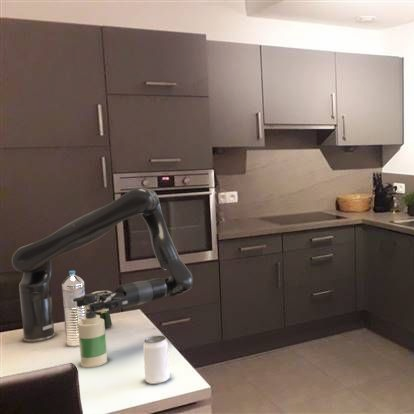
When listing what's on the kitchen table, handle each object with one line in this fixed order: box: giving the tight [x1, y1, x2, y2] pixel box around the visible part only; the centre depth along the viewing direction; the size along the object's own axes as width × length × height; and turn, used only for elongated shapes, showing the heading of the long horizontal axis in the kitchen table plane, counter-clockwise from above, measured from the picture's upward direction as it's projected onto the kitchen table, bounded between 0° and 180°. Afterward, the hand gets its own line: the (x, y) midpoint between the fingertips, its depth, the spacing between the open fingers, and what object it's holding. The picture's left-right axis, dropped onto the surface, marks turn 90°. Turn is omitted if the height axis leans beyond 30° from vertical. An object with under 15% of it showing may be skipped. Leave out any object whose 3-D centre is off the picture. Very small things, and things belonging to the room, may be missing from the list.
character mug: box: [86, 290, 113, 328], centre depth 200 cm, size 11×7×13 cm, turn 134°
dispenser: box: [78, 310, 108, 368], centre depth 167 cm, size 7×7×16 cm
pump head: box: [73, 292, 95, 308], centre depth 165 cm, size 6×3×4 cm, turn 142°
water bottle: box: [61, 270, 88, 347], centre depth 184 cm, size 7×7×25 cm
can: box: [142, 335, 171, 385], centre depth 155 cm, size 6×6×12 cm
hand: (83, 305), depth 165 cm, fingers open, 8 cm apart
